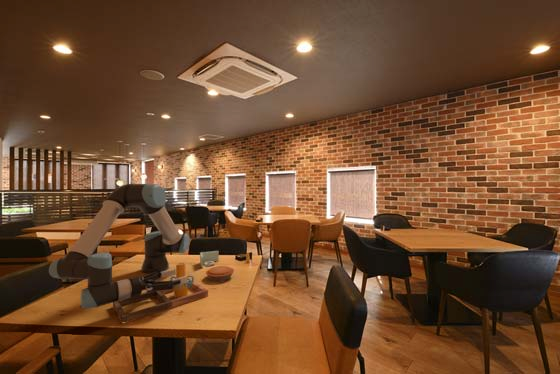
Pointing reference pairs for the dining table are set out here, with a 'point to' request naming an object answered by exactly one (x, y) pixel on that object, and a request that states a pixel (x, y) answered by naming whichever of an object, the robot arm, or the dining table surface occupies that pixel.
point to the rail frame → (160, 307)
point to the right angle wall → (209, 258)
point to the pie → (220, 273)
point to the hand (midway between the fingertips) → (181, 275)
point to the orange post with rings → (182, 288)
